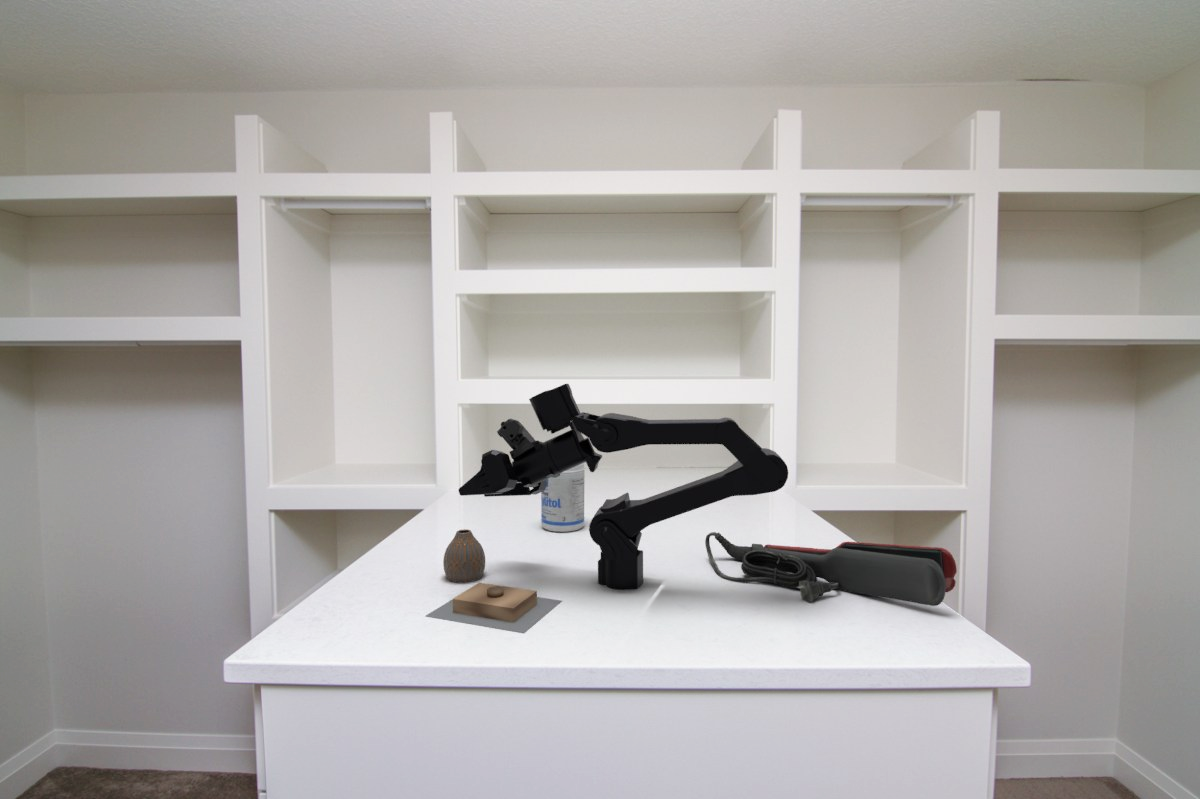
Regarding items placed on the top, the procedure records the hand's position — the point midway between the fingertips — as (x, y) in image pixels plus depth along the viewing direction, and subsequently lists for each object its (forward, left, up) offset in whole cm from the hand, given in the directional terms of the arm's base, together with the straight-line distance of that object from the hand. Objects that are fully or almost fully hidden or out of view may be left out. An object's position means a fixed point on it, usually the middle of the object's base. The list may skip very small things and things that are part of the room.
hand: (472, 493), depth 105 cm
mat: (-10, +10, -15) cm, 21 cm away
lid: (-10, +10, -14) cm, 20 cm away
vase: (+2, 0, -15) cm, 16 cm away
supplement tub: (+1, -37, -15) cm, 40 cm away
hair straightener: (-55, -20, -16) cm, 60 cm away
